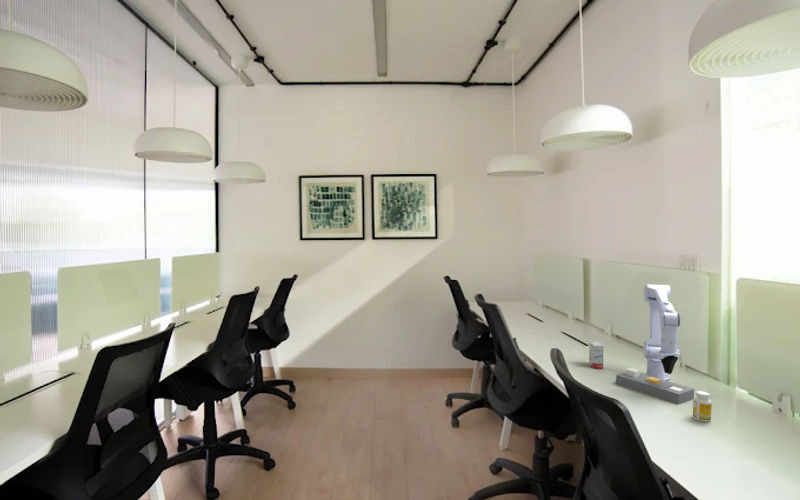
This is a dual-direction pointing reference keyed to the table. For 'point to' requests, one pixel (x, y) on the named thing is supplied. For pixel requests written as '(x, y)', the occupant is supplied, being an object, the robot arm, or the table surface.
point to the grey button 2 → (676, 388)
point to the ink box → (596, 355)
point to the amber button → (653, 380)
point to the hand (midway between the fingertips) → (668, 373)
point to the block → (632, 372)
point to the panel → (656, 388)
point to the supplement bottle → (702, 406)
